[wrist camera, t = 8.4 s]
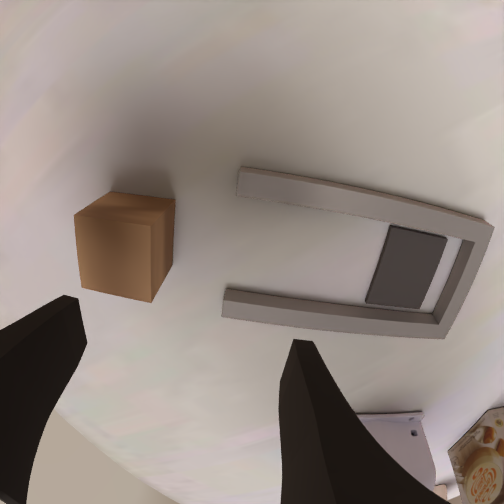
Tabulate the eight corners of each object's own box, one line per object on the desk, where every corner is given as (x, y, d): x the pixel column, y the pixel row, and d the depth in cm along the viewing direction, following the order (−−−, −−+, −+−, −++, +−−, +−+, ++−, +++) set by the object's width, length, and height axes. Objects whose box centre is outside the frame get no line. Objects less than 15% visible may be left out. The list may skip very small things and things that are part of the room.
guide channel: (484, 220, 16) (494, 227, 15) (438, 328, 19) (444, 339, 18) (241, 166, 16) (239, 171, 14) (224, 304, 19) (221, 316, 18)
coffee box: (486, 409, 24) (529, 520, 10) (516, 403, 24) (559, 499, 10) (445, 452, 28) (471, 551, 14) (477, 445, 28) (505, 534, 14)
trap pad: (445, 237, 16) (447, 239, 16) (417, 306, 19) (419, 308, 18) (390, 225, 16) (392, 227, 16) (364, 300, 19) (366, 303, 18)
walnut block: (176, 199, 17) (150, 226, 13) (172, 264, 18) (151, 302, 15) (110, 191, 17) (73, 214, 13) (112, 253, 18) (81, 287, 15)
